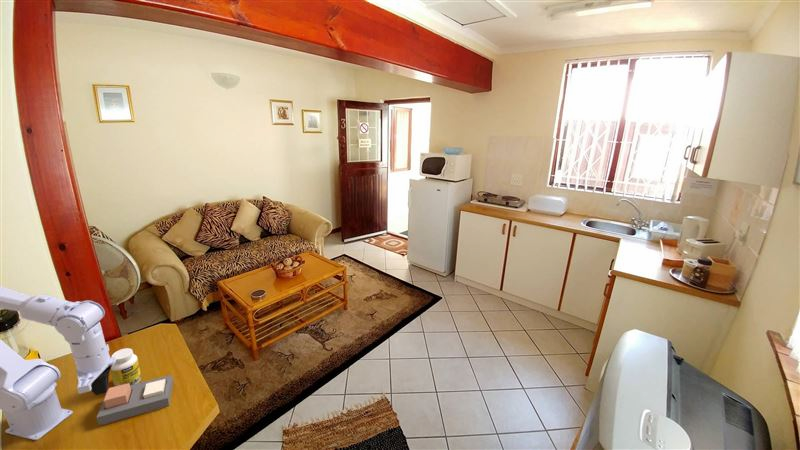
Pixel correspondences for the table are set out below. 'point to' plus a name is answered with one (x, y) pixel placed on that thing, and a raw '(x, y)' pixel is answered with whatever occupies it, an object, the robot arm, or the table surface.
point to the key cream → (154, 388)
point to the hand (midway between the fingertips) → (101, 392)
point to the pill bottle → (125, 368)
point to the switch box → (136, 402)
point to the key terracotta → (117, 396)
